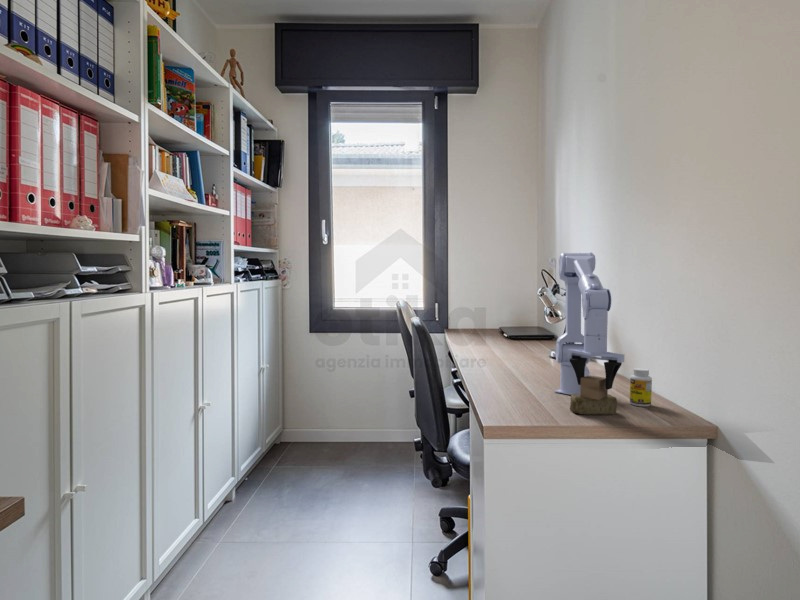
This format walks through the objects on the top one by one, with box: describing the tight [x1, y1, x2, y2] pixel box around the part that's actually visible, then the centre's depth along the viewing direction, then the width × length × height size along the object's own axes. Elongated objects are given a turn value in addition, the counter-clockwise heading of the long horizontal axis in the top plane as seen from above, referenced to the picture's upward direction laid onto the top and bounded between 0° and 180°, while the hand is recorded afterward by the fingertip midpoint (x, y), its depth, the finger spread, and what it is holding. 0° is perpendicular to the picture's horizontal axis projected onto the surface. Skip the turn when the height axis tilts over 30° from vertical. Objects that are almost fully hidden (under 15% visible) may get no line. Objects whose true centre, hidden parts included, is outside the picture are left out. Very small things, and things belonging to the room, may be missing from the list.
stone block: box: [569, 394, 618, 416], centre depth 137 cm, size 6×12×5 cm, turn 91°
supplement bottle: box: [629, 367, 653, 408], centre depth 145 cm, size 6×6×10 cm
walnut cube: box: [580, 374, 609, 400], centre depth 134 cm, size 5×5×5 cm
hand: (594, 386), depth 134 cm, fingers open, 7 cm apart
